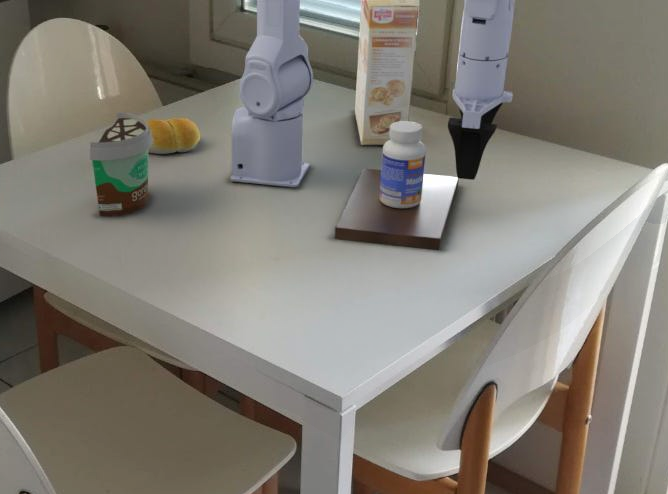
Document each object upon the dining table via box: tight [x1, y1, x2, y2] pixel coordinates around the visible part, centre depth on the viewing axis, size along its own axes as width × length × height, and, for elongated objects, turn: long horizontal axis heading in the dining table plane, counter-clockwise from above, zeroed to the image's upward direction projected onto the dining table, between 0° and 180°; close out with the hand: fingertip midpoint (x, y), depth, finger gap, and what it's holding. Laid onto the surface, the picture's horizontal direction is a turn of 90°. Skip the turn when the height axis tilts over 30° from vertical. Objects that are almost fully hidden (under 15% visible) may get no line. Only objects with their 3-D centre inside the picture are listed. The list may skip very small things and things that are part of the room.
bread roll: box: [145, 117, 201, 155], centre depth 161 cm, size 8×9×4 cm
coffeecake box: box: [354, 0, 420, 146], centre depth 162 cm, size 15×7×20 cm, turn 179°
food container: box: [89, 111, 153, 217], centre depth 143 cm, size 12×6×10 cm, turn 168°
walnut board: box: [334, 167, 460, 251], centre depth 143 cm, size 13×20×2 cm, turn 165°
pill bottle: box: [380, 120, 427, 208], centre depth 139 cm, size 5×5×10 cm
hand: (469, 166), depth 137 cm, fingers open, 7 cm apart
